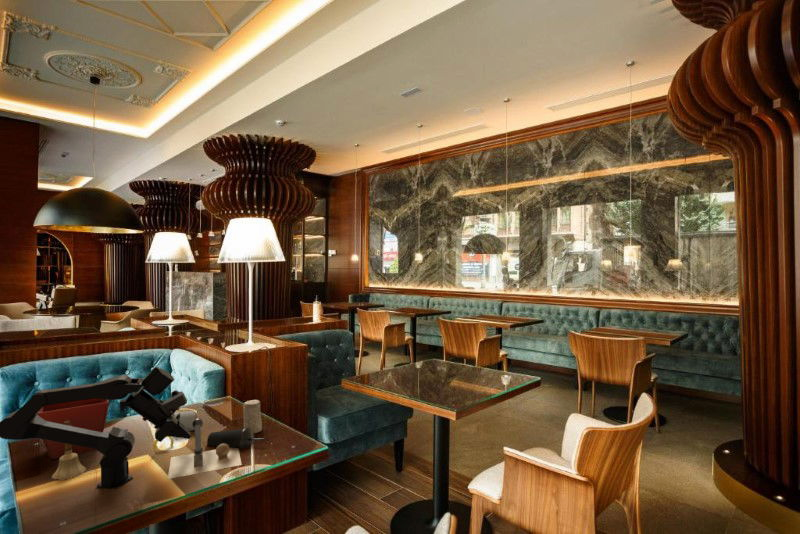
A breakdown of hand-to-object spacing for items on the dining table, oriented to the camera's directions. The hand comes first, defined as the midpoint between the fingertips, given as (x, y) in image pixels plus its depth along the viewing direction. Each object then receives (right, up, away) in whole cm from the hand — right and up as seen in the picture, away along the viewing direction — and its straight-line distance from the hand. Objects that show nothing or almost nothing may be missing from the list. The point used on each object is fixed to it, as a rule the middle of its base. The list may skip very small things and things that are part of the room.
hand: (190, 437), depth 135 cm
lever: (+2, -6, +1) cm, 6 cm away
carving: (+10, -10, +27) cm, 31 cm away
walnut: (+8, -8, +4) cm, 12 cm away
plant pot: (-48, -11, +17) cm, 52 cm away
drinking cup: (-1, -7, +17) cm, 18 cm away
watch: (-15, -10, +13) cm, 22 cm away
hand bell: (-36, -11, -2) cm, 38 cm away
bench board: (+4, -10, +2) cm, 11 cm away
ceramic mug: (-18, -10, +32) cm, 38 cm away
